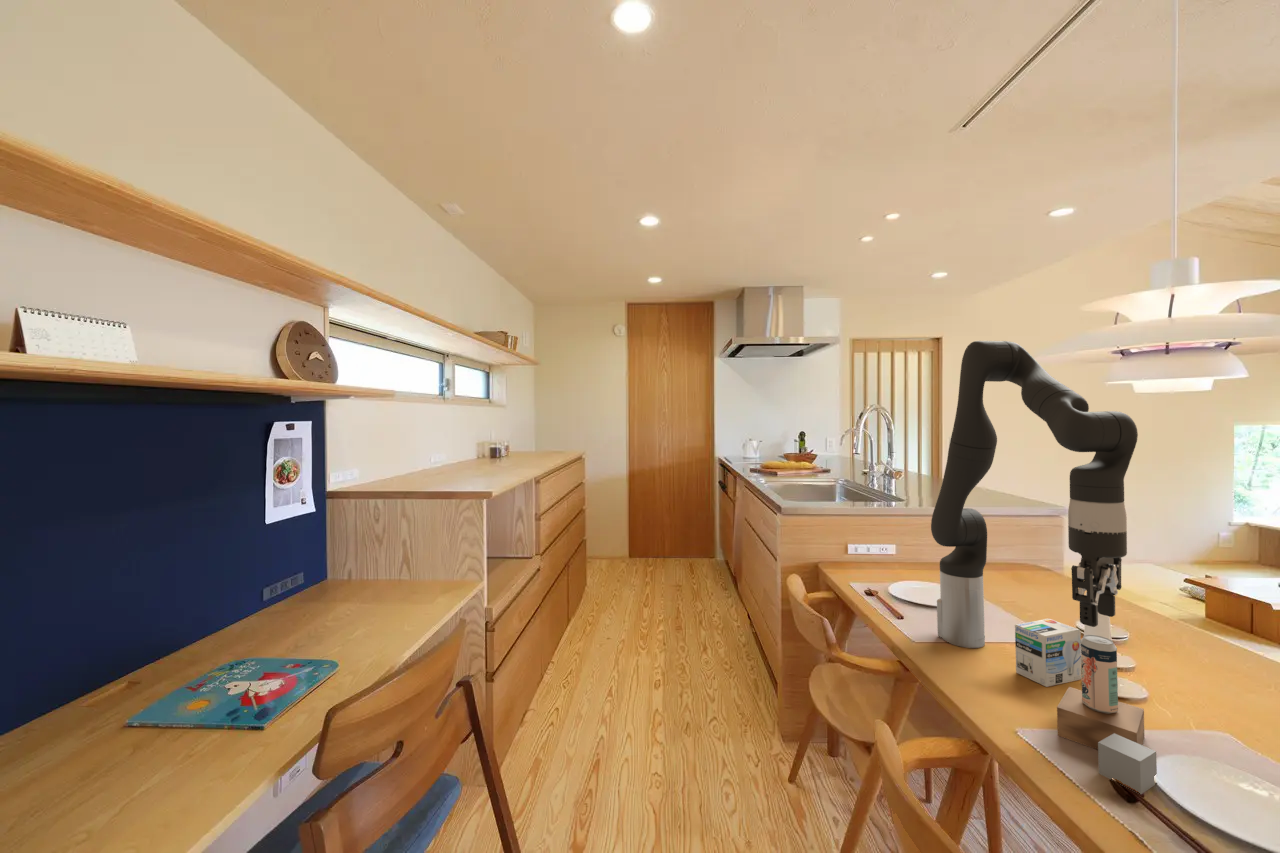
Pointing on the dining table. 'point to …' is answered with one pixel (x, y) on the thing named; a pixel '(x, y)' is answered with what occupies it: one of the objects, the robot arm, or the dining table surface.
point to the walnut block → (1097, 721)
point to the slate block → (1127, 762)
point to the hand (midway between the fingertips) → (1097, 619)
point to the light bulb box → (1048, 652)
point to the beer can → (1099, 673)
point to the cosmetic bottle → (1100, 627)
